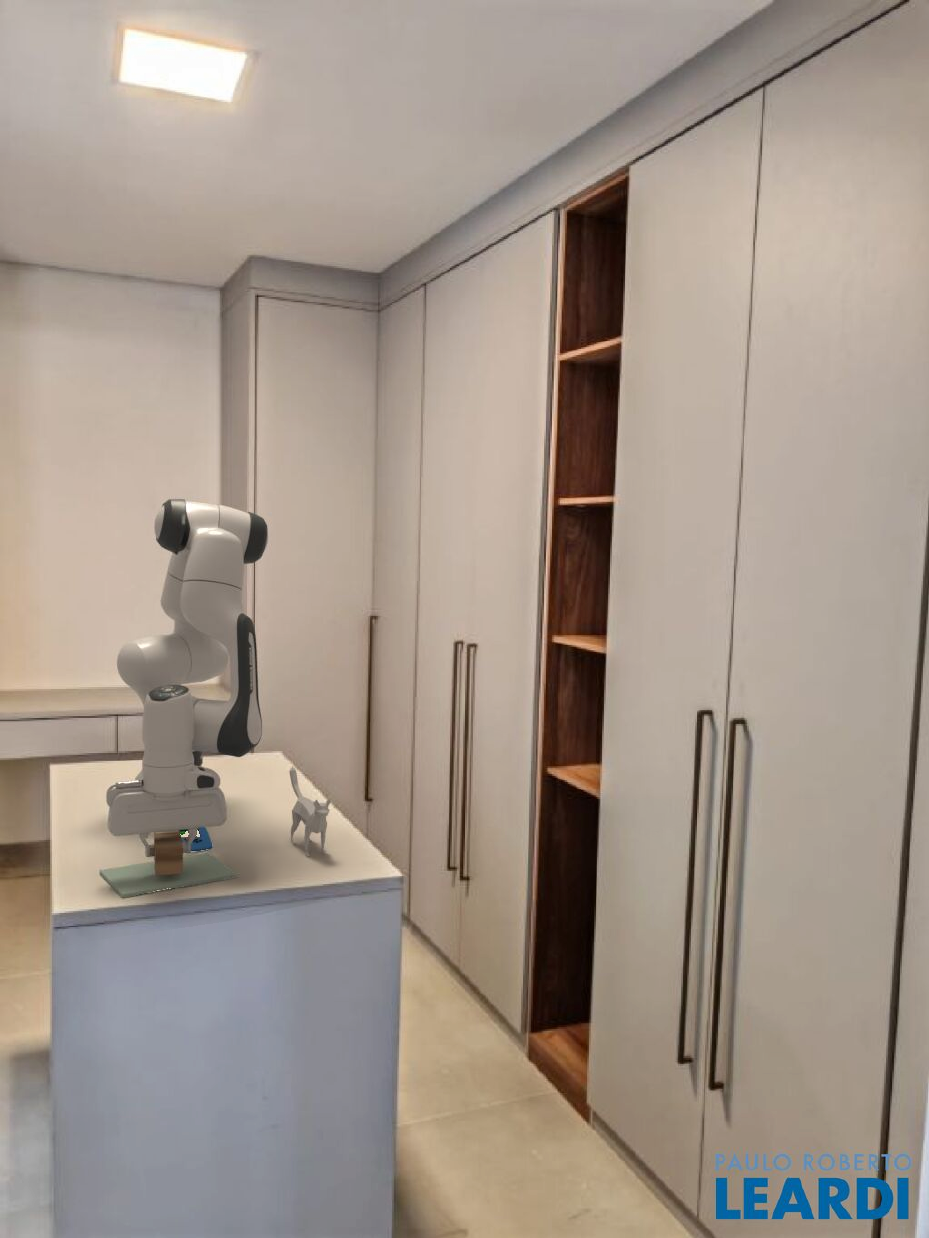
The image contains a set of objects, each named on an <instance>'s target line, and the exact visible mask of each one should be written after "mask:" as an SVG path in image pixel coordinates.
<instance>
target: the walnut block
mask: <svg viewBox="0 0 929 1238" xmlns="http://www.w3.org/2000/svg"><path fill="white" fill-rule="evenodd" d="M153 845H154V846H155V856H154V857H153V861H155V871H156V875H168V874H180V873H183V857H184V853H183V845H182V840H181V835H180V830H173V831H163V832H153Z"/></svg>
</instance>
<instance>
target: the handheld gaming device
mask: <svg viewBox="0 0 929 1238" xmlns="http://www.w3.org/2000/svg"><path fill="white" fill-rule="evenodd" d="M197 830H198V831H199V834H200V837H197V836H196V837H195V838H194V840H193V842H192V843H191V851H198V852H202V851H201V850H206V849H209V850H211V849H213V846H214V845H213V842H212V839H211V837H210V835H209V832H208V831H207V827H202V828H197ZM186 831H187V829H183V830H180V834H181V835H183V834H185V832H186ZM186 838H187V837H181V840H182V841H185V840H186ZM206 851H207V850H206Z"/></svg>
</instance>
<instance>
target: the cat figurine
mask: <svg viewBox="0 0 929 1238" xmlns="http://www.w3.org/2000/svg"><path fill="white" fill-rule="evenodd" d="M289 778H290V782H291V783H290V784H291V787H292V789H293V792H294V794H295V796H296V797H297V801H296V803H295V804H294V806H293V807H292V810H291V815H292V816H291V817H292V824H291V827H290V828H291V829H290V843H291V844H292V845H295V841H293V840H294V839H293V837H294V833H295V832H296V831H297V829H298V827H299V825H300V823H301V822H302V823H303V825H304V839H303V841H304V855H305V856H307V857H310V856H311V855H310V854H309V852H308V850H309V843H312V842H313V840H312V839H310V837H311V834H312V833H314V834H318V833H319V834H320V844H321V846H320V847H321V854H323V855H326V854H327V853H326V851H325V843H326V837H327V836H326V832H327V826H328V821H327V816H328V815H329V813H330V809H329V806H330V804H331V802H332V801H331V800H330V799H329V798H327V799H326V801H325V802H319V801H318V799H316V800H315V801H314V800H311V799H310V798H307V797H305V796H304V795H303V794H302V792H301V790H300V787H299V782H298V781H299V780H298V773H297V770H296V768H294V766H292V765H291V768H290V769H289Z"/></svg>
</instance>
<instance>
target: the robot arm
mask: <svg viewBox="0 0 929 1238" xmlns="http://www.w3.org/2000/svg"><path fill="white" fill-rule="evenodd" d="M161 505H162V506H161V507H160V508H159V510H158V512H157V513H156V515H155V519H154V535H155V540H156V543H158V544H159V546H160V547H161V548H162V549H164V550H166V551H169V552H171V553H172V554H171V557H170V559H169V563H168V567H167V570H166V576H165V579H164V584H163V588H162V593H161V598H160V605H161V606H160V607H161V608H162V610H163V612H164V613H165V615H166V616H167V617H168V618H170V619H172V620H173V623H174V625H173V626H174V627H173V631H172V633H170V634H161V635H150V636H143V637H140V638H137V639H134V640H131V641H129V642H126V643H124V644H123V645H122V647H121V648H120V650H119V651H118V652H119V653H118V655H117V659H116V667H117V671H118V674H119V677H120V678H121V680H122V681H123V682H124V683H125V684H126V685H127V686H128V687H129V688H131V689H132V690H133V691H134V692H135V693H136V694H137V696H138V697H139V699H140V701H141V703H142V705H143V706H142V707H143V714H142V729H141V734H142V736H141V737H142V742H143V747H144V752H143V757H142V761H141V763H142V764H141V768H142V769H141V771H140V772H139V773H138V774H137V775H136V777H135V779H134V780H130V781H117V782H115V784H112V785H111V786H110V787H108V789H107V790H106V795H105V797H106V800H105V801H106V804H107V806H108V814H107V815H108V816H107V829H108V831H109V833H110V834H111V835H112V836H113V837H122V836H123V837H124V836H131V835H133V836H134V835H138V838H139V839H140V841H141V843H142V844H143V846H144V850H145V851H144V853H145V857H146V858H154V856H155V846H154V844H150V843H149V842H148V841H147V840H148V839H149V834H151V833H153V834H154V832H163V831H173V830H183V829H187V831H188V833H189V835H188V837H187V838H186V840H185V841H182V845H183V854H189V853H192V852H191V843H192V842H193V840H194V838H195V837H196V835H197V828H202V827H206V828H210V827H211V828H212V827H221V826H223V825H224V824H225V822H226V821H227V816H228V813H227V804H226V803H227V802H226V797H225V794H224V792H223V790H222V789H221V788H220V785H221V777H220V775H219V774H218V773H217V772H216V771H215V770H213V769H211V768H208V767H204V766H202V765H203V764H204V762H203V760H204V759H203V758H204V753H212V754H213V753H214V754H215V753H216V754H220V755H225V756H229V757H230V756H231V757H234V758H235V757H236V758H241V757H244V756H246V755H247V754H248V753H250V752H251V751H253V749H255V748H256V747H257V745H259V743H260V741H261V740H262V739H261V738H262V735H263V720H262V714H261V709H260V701H259V700H260V699H259V679H258V678H259V676H258V673H259V672H258V649H257V637H256V630H255V625H254V621H253V620H252V618H250V617H249V616H248V615H246V612H245V610H244V607H243V602H242V601H243V599H242V598H243V597H242V596H243V595H242V593H243V585H244V573H245V569H244V568H245V565H247V564H248V565H249V564H254V563H256V562H258V561H260V559H261V558H262V557H263V555H264V554H265V551H266V549H267V547H268V543H269V531H268V530H269V529H268V524H267V522H266V521H265V519H264V518H263V517H262V516H260V515H259V514H256V513H254V512H251V511H248V512H245V511H243V510H240V509H238V508H234V507H230V506H227V505H222V504H218V503H217V504H214V503H206V502H199V501H187V500H186V499H185V498H171V499H167V500H166V501H165V502H164V503H162V504H161ZM228 662H229V673H230V676H229V677H230V697H229V699H228V700H221V699H207V698H199V697H196V696H193V694H192V693H191V690H190V688H189V687H187V686H186V685H189V684H195V683H196V684H197V683H203V682H206V681H209V680H211V679H214V678H215V677H218V676H220V675H222V674H223V673H224V672H225V670H226V669H227V665H228Z"/></svg>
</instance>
